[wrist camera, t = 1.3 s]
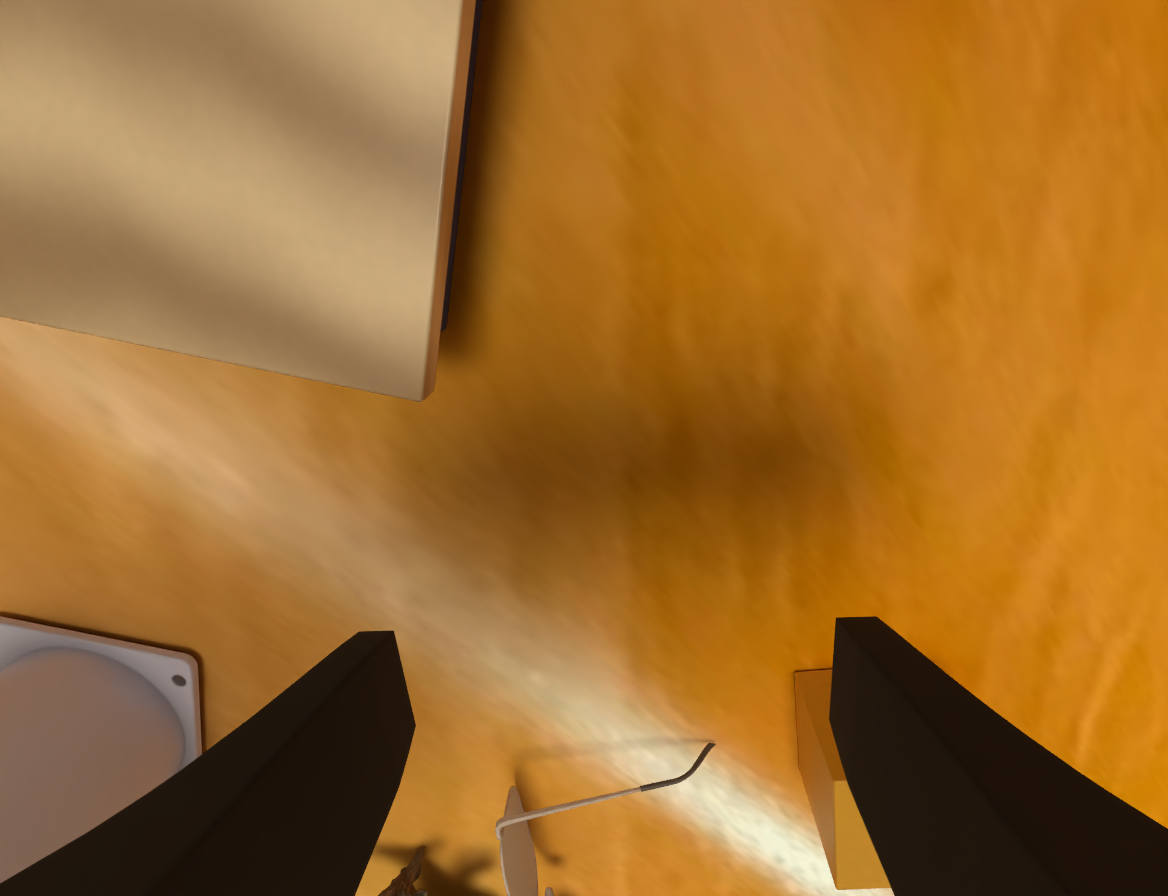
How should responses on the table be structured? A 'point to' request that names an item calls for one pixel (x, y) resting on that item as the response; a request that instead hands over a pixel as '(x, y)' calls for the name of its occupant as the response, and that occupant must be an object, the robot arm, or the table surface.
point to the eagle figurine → (407, 879)
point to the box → (239, 178)
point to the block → (832, 789)
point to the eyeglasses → (518, 841)
